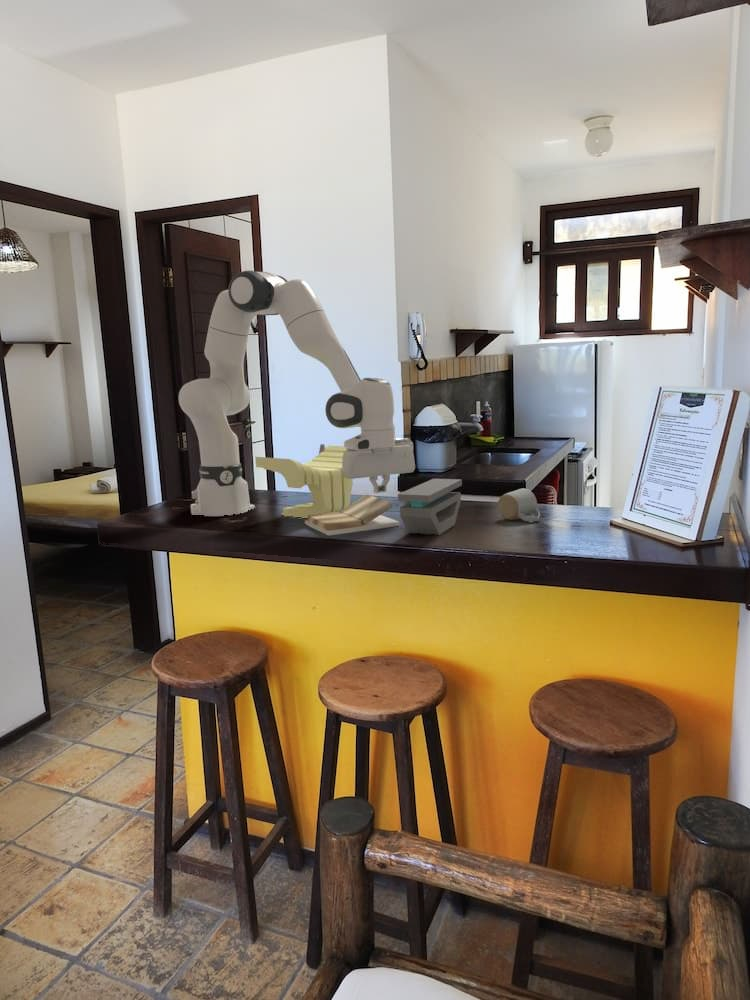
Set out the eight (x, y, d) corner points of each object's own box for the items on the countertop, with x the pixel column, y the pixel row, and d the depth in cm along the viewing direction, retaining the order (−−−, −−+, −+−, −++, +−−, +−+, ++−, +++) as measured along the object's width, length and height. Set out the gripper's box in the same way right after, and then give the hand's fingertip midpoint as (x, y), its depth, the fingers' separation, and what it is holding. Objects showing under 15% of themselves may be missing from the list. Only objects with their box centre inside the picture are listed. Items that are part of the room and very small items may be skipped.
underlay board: (305, 524, 189) (304, 520, 189) (372, 515, 198) (372, 511, 197) (328, 535, 175) (328, 531, 175) (399, 525, 183) (399, 521, 183)
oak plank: (307, 521, 188) (307, 515, 188) (339, 517, 192) (338, 511, 192) (328, 530, 176) (328, 524, 175) (361, 526, 180) (361, 520, 179)
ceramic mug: (495, 519, 188) (495, 490, 186) (514, 514, 193) (515, 486, 191) (527, 525, 180) (527, 495, 178) (547, 520, 185) (547, 491, 183)
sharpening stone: (430, 541, 166) (429, 495, 164) (399, 539, 169) (397, 494, 167) (462, 520, 188) (461, 479, 186) (434, 518, 191) (433, 478, 189)
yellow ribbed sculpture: (301, 527, 186) (298, 459, 182) (259, 521, 195) (255, 456, 192) (371, 507, 209) (369, 447, 206) (330, 503, 219) (328, 445, 215)
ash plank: (342, 516, 192) (339, 511, 192) (368, 498, 195) (366, 494, 195) (364, 525, 180) (362, 520, 179) (392, 506, 183) (390, 501, 182)
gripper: (407, 436, 193) (408, 486, 196) (338, 442, 184) (340, 494, 187) (418, 438, 188) (420, 489, 190) (348, 444, 179) (350, 498, 181)
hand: (380, 492), depth 188 cm, fingers closed
